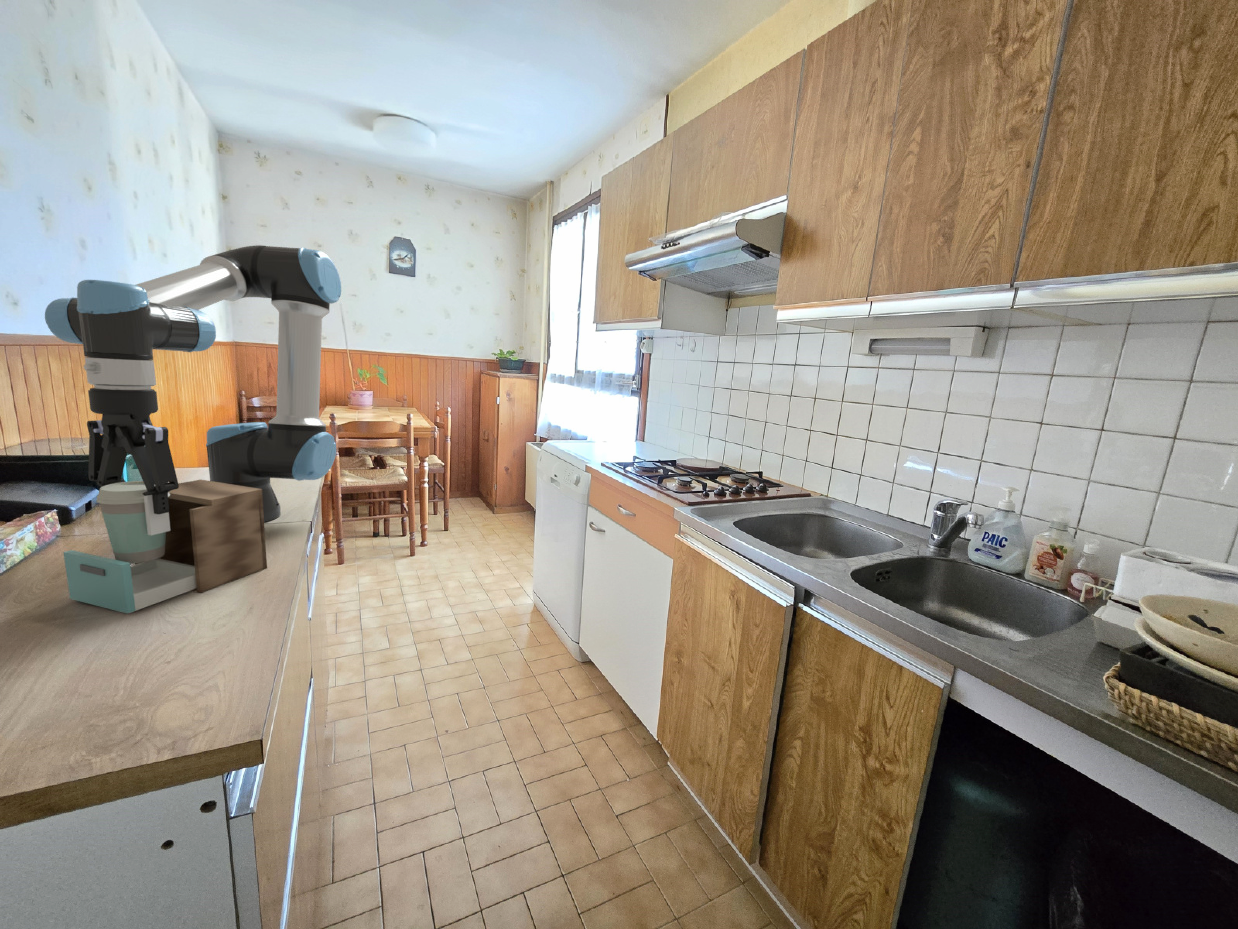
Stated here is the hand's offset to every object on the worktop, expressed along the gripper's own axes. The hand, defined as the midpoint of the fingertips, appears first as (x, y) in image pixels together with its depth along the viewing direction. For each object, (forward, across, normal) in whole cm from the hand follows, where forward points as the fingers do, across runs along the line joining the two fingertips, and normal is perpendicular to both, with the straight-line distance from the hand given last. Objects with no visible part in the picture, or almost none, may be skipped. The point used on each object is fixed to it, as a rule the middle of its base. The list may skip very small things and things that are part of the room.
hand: (138, 528), depth 81 cm
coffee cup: (+5, 0, 0) cm, 5 cm away
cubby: (+11, 0, +9) cm, 15 cm away
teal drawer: (+11, 0, 0) cm, 11 cm away
